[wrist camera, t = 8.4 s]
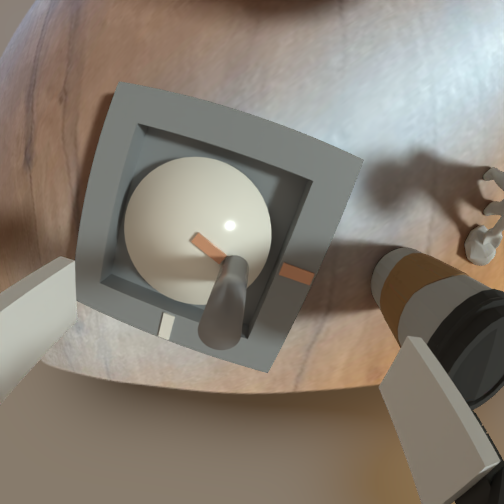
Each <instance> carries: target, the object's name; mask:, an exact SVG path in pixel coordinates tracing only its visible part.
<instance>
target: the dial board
mask: <svg viewBox="0 0 504 504" xmlns="http://www.w3.org/2000/svg"><path fill="white" fill-rule="evenodd" d="M184 157H206V158H212V159H216V160H220V161H223V162H225V163H228V164H230V165H232V166H234V167H236V168H237V169H239V170H240V171H241V172H243V173H244V174H245V175H246V176H247V177H248V178H249V179H250V180H252V182H253V183H254V184H255V185H256V187H257V188H258V189H259V191H260V193H261V194H262V196H263V198H264V200H265V203H266V205H267V208H268V212H269V216H270V223H271V245H270V251H269V254H268V258H267V260H266V263H265V265H264V267H263V269H262V270H261V272H260V274H259V275H258V277H257V278H256V279H255V280H254V282H253V283H252V284H251V285H250V286H248V287H247V291H246V299H245V308H244V316H243V324H242V332H241V338H240V341H239V342H238V344H237V345H236V346H234V347H233V348H231V349H228V350H215V349H212V348H210V347H208V346H206V345H205V344H204V343H203V342H202V341H201V339H200V338H199V335H198V325H199V322H200V320H201V317H202V315H203V312H204V309H205V307H206V305H194V304H188V303H183V302H179V301H176V300H174V299H171V298H169V297H167V296H165V295H163V294H161V293H160V292H158V291H157V290H156V289H154V288H153V287H152V286H151V285H150V284H148V283H147V282H146V281H145V279H144V278H143V277H142V276H141V275H140V273H139V272H138V271H137V269H136V268H135V266H134V264H133V262H132V260H131V258H130V255H129V253H128V250H127V246H126V242H125V234H124V221H125V214H126V210H127V206H128V203H129V201H130V198H131V196H132V194H133V192H134V191H135V189H136V187H137V186H138V185H139V183H140V182H141V181H142V180H143V179H144V178H145V177H146V176H147V175H148V174H149V173H150V172H151V171H153V170H154V169H156V168H157V167H159V166H161V165H163V164H164V163H167V162H169V161H172V160H175V159H180V158H184ZM362 163H363V159H361V158H359V157H356V156H354V155H352V154H350V153H348V152H346V151H343V150H341V149H339V148H337V147H334V146H332V145H330V144H328V143H325V142H323V141H321V140H318V139H316V138H313V137H311V136H308V135H306V134H303V133H301V132H298V131H296V130H293V129H291V128H288V127H285V126H283V125H280V124H277V123H274V122H272V121H269V120H266V119H263V118H260V117H257V116H254V115H251V114H248V113H245V112H242V111H239V110H236V109H233V108H229V107H226V106H223V105H219V104H216V103H212V102H209V101H205V100H201V99H198V98H194V97H190V96H186V95H182V94H178V93H174V92H169V91H165V90H161V89H156V88H151V87H146V86H141V85H136V84H130V83H125V82H119V83H118V85H117V88H116V91H115V93H114V96H113V99H112V102H111V104H110V107H109V110H108V113H107V116H106V119H105V122H104V125H103V129H102V132H101V135H100V138H99V142H98V145H97V149H96V153H95V156H94V160H93V164H92V168H91V172H90V176H89V181H88V185H87V190H86V194H85V199H84V204H83V210H82V215H81V221H80V227H79V234H78V240H77V248H76V256H75V283H76V301H78V302H80V303H82V304H84V305H86V306H89V307H91V308H93V309H95V310H97V311H99V312H101V313H103V314H106V315H108V316H110V317H112V318H115V319H117V320H119V321H121V322H124V323H126V324H128V325H131V326H133V327H135V328H138V329H140V330H143V331H145V332H148V333H150V334H153V335H155V336H158V337H160V338H163V339H165V340H168V341H171V342H173V343H176V344H179V345H181V346H184V347H187V348H190V349H193V350H195V351H198V352H201V353H204V354H207V355H210V356H213V357H216V358H219V359H222V360H225V361H229V362H232V363H235V364H238V365H242V366H245V367H248V368H252V369H255V370H259V371H262V372H266V373H268V372H269V370H270V368H271V366H272V364H273V362H274V360H275V359H276V357H277V355H278V353H279V351H280V349H281V347H282V345H283V343H284V341H285V339H286V337H287V335H288V333H289V331H290V329H291V327H292V325H293V323H294V321H295V319H296V317H297V315H298V313H299V311H300V309H301V307H302V304H303V302H304V300H305V298H306V296H307V294H308V292H309V290H310V288H311V285H312V283H313V281H314V279H315V277H316V274H317V272H318V270H319V268H320V266H321V263H322V261H323V259H324V257H325V254H326V252H327V250H328V247H329V245H330V243H331V241H332V238H333V236H334V234H335V231H336V229H337V226H338V224H339V222H340V219H341V217H342V214H343V212H344V209H345V207H346V205H347V202H348V200H349V197H350V194H351V192H352V189H353V187H354V184H355V182H356V179H357V176H358V174H359V171H360V169H361V166H362Z"/></svg>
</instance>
